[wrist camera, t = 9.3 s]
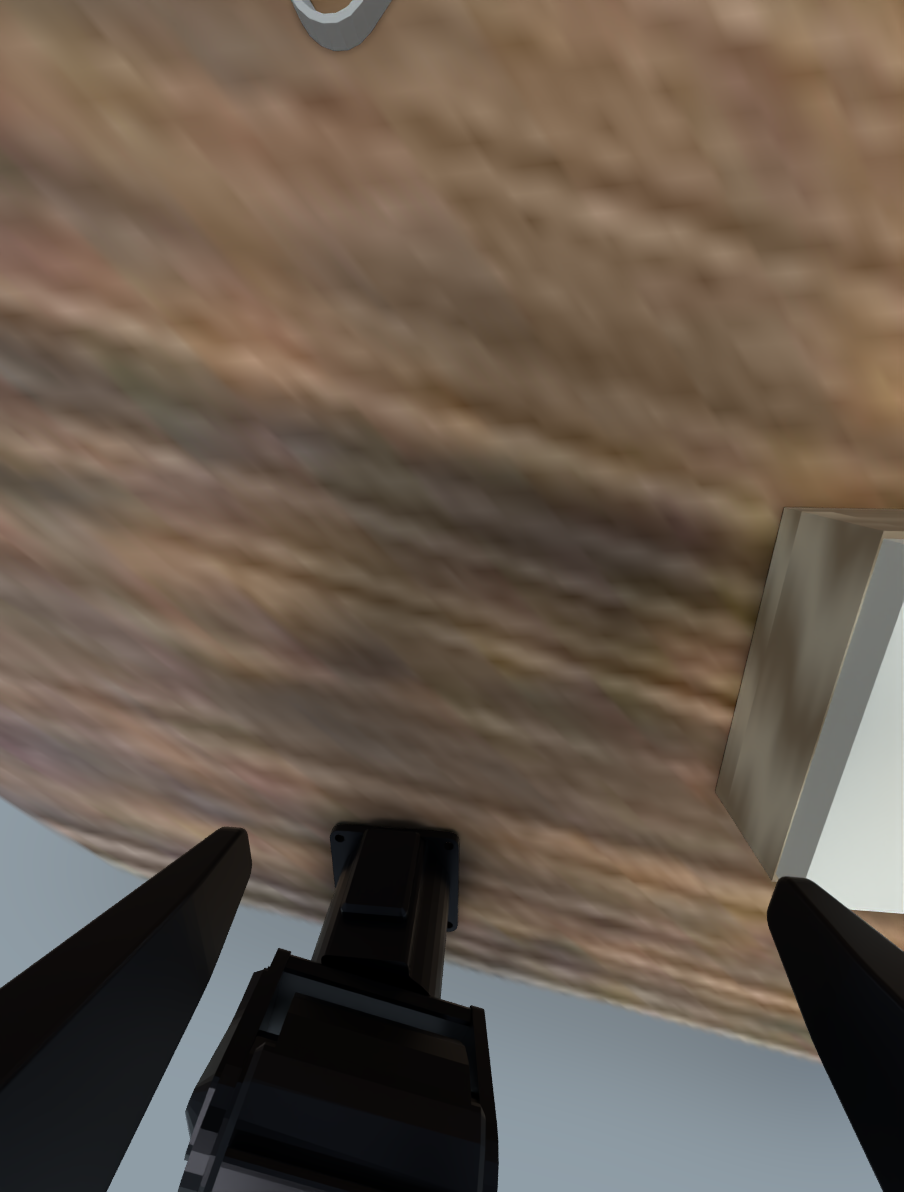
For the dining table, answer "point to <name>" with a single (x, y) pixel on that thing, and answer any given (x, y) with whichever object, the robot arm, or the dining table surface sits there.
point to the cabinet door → (860, 762)
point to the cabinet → (796, 664)
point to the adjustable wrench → (341, 22)
